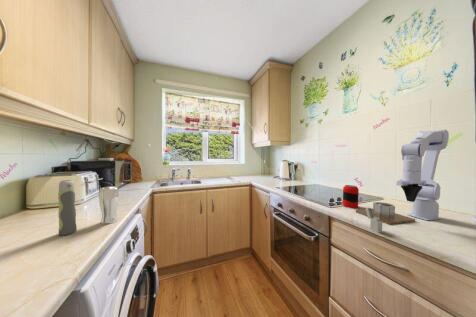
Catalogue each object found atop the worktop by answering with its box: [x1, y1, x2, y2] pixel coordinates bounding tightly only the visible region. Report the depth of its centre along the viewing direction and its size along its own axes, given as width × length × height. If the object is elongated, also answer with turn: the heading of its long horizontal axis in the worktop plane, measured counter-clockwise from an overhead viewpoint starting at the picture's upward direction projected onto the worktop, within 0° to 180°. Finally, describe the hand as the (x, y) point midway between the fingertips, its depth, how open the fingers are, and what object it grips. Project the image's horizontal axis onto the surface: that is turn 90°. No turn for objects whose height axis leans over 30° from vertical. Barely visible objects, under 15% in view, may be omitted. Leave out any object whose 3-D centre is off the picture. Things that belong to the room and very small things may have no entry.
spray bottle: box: [57, 179, 78, 236], centre depth 65 cm, size 5×5×20 cm
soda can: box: [342, 184, 360, 209], centre depth 101 cm, size 8×8×12 cm
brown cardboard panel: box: [355, 201, 416, 225], centre depth 85 cm, size 16×16×6 cm
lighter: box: [365, 207, 383, 234], centre depth 71 cm, size 7×2×8 cm, turn 179°
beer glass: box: [98, 186, 120, 225], centre depth 77 cm, size 7×7×15 cm
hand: (410, 201), depth 77 cm, fingers closed
